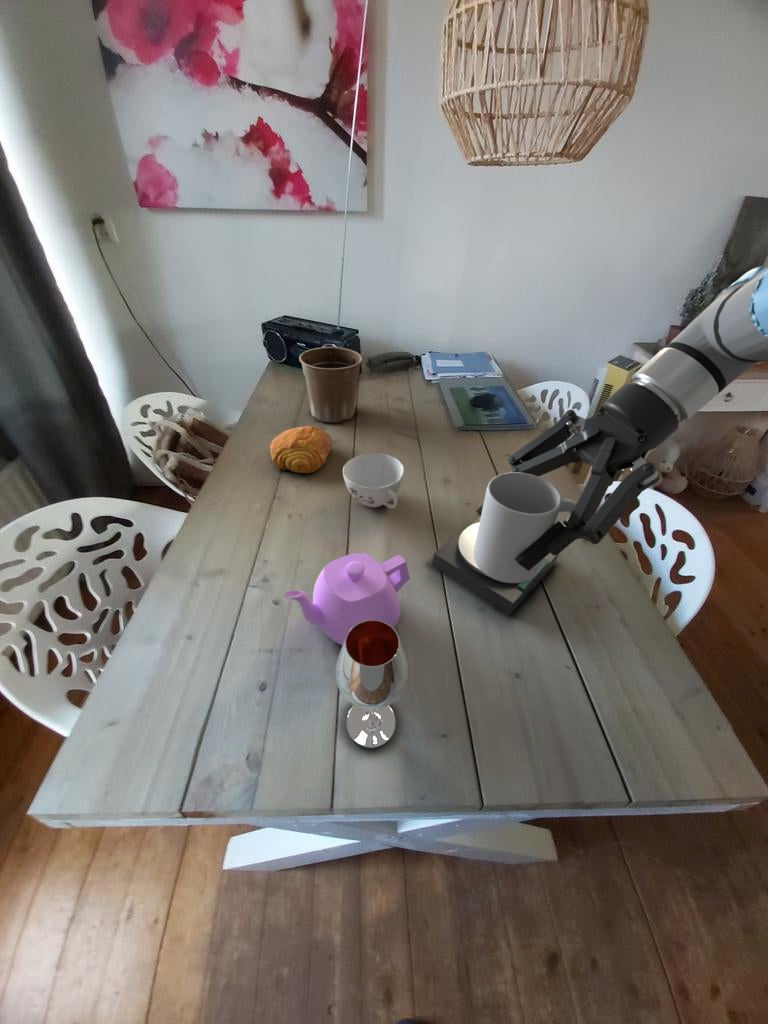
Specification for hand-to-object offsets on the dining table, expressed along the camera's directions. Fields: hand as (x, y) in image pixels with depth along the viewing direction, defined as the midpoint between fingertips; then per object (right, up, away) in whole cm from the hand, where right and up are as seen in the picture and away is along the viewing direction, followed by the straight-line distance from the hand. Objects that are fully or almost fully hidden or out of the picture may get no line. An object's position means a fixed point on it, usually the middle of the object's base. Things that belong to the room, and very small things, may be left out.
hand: (500, 539), depth 54 cm
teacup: (-16, +5, +39) cm, 43 cm away
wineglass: (-16, -24, +3) cm, 29 cm away
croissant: (-34, +16, +52) cm, 65 cm away
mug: (+3, -3, +3) cm, 5 cm away
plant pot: (-29, +31, +70) cm, 82 cm away
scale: (+6, -6, +26) cm, 27 cm away
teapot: (-20, -14, +16) cm, 29 cm away
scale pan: (+6, -3, +23) cm, 24 cm away
